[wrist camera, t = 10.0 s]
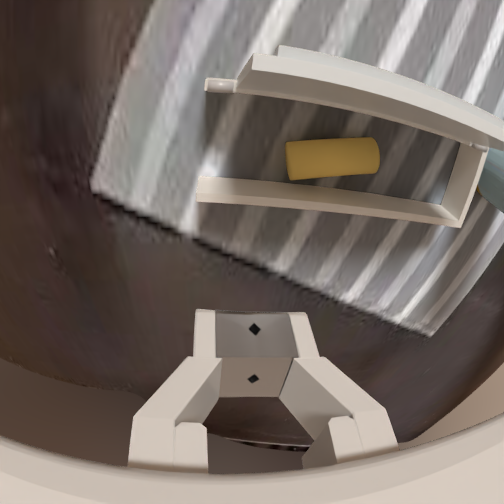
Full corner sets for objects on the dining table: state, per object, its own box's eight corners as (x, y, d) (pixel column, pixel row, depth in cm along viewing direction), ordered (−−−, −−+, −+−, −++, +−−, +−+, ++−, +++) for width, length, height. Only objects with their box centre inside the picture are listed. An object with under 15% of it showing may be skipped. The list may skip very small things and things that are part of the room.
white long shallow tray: (467, 134, 25) (494, 148, 21) (442, 211, 29) (464, 231, 26) (207, 77, 21) (204, 80, 18) (198, 183, 26) (195, 205, 22)
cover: (472, 143, 21) (474, 129, 21) (546, 164, 14) (549, 147, 13) (236, 88, 18) (238, 68, 18) (251, 69, 11) (255, 39, 10)
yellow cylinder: (366, 131, 24) (381, 146, 22) (363, 162, 26) (377, 179, 24) (284, 136, 24) (292, 151, 22) (285, 169, 26) (293, 187, 24)
